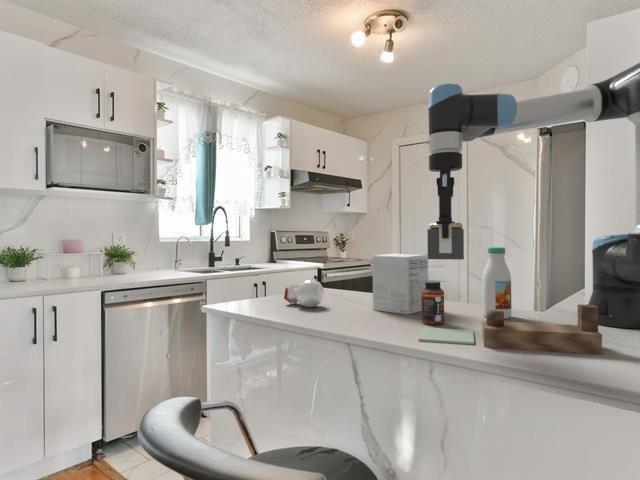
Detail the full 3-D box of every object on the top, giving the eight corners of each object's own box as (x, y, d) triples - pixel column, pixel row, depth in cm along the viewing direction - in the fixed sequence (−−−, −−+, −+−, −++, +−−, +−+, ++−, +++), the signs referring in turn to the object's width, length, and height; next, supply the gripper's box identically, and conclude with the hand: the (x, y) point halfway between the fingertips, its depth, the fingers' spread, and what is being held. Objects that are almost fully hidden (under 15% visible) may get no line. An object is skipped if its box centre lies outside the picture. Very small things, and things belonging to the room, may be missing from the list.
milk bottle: (484, 319, 120) (483, 248, 120) (480, 313, 128) (480, 246, 127) (513, 320, 118) (513, 247, 118) (508, 314, 126) (508, 246, 125)
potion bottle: (319, 314, 138) (289, 313, 149) (334, 293, 144) (304, 294, 155) (305, 292, 135) (275, 293, 145) (321, 272, 141) (291, 275, 151)
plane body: (590, 344, 93) (590, 303, 93) (601, 354, 86) (602, 309, 85) (482, 337, 100) (482, 299, 100) (484, 346, 92) (484, 305, 92)
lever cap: (463, 258, 102) (463, 222, 102) (463, 259, 98) (463, 222, 97) (429, 257, 105) (429, 223, 105) (427, 259, 100) (427, 223, 100)
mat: (472, 332, 105) (472, 330, 105) (474, 344, 94) (474, 342, 94) (422, 329, 109) (422, 327, 109) (418, 341, 98) (418, 338, 98)
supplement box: (429, 308, 137) (429, 254, 137) (408, 315, 127) (408, 256, 127) (394, 304, 146) (393, 253, 146) (371, 310, 136) (371, 255, 136)
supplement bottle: (445, 325, 113) (444, 283, 112) (422, 325, 114) (421, 282, 114) (443, 321, 118) (443, 280, 118) (421, 320, 120) (420, 280, 119)
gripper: (431, 160, 110) (432, 250, 111) (425, 147, 93) (426, 254, 94) (462, 158, 108) (462, 250, 108) (462, 145, 91) (462, 254, 91)
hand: (445, 252), depth 101 cm, fingers closed on lever cap, 5 cm apart
